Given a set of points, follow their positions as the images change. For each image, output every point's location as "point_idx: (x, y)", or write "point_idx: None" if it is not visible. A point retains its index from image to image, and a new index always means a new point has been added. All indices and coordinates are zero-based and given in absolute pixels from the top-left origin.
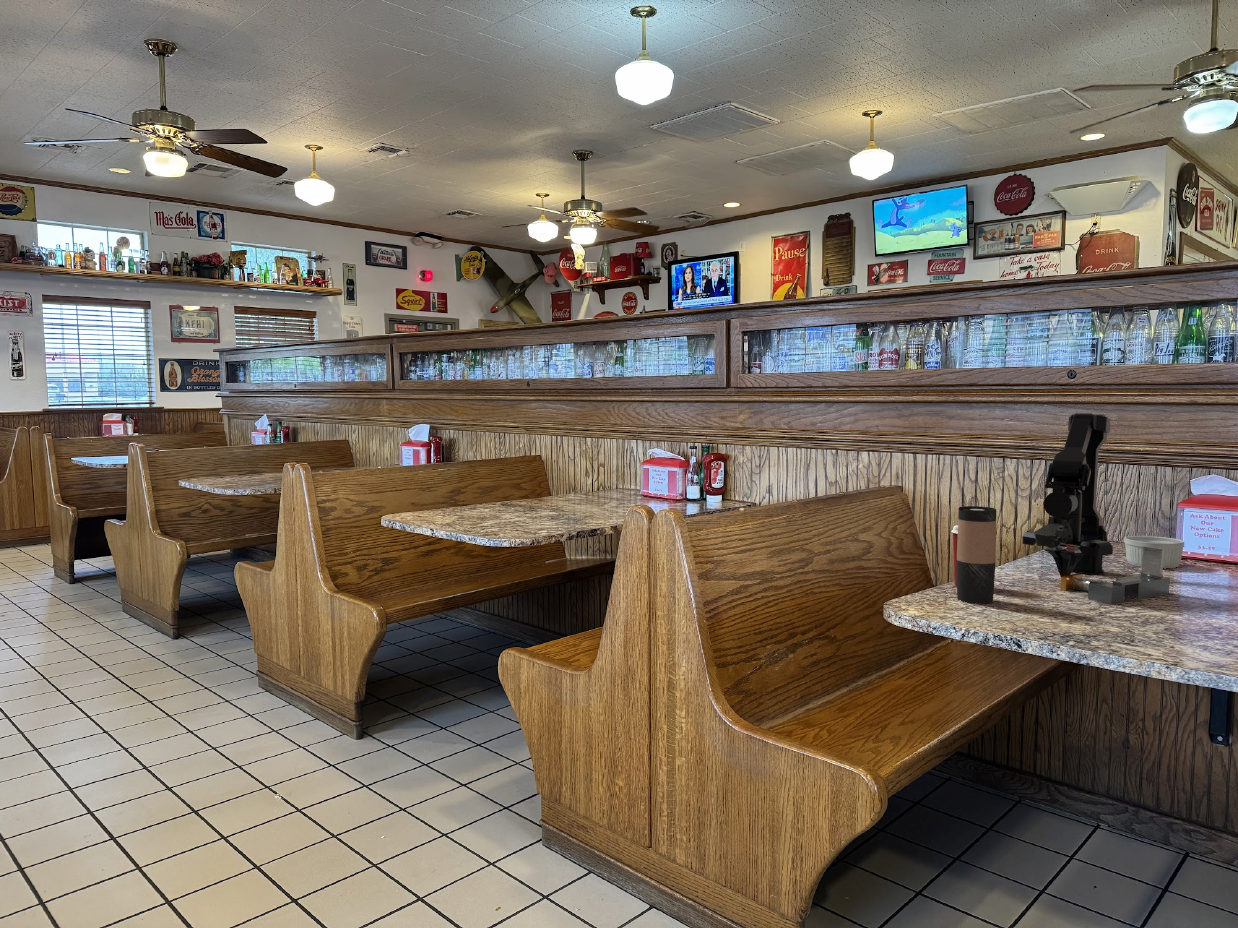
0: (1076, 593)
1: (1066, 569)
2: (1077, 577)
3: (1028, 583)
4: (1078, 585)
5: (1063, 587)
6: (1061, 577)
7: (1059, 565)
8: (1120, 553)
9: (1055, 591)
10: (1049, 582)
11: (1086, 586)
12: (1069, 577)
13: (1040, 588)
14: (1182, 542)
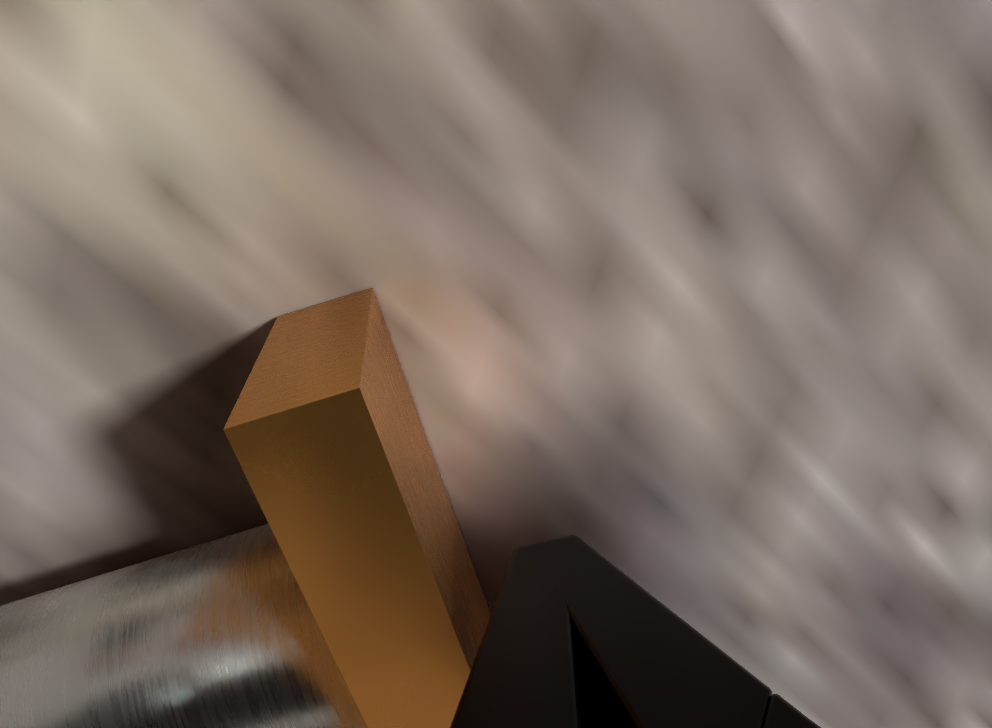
0: (38, 339)
1: (458, 717)
2: (285, 713)
3: (988, 142)
4: (190, 559)
5: (308, 319)
6: (338, 384)
7: (680, 723)
8: None
9: (273, 82)
10: (858, 524)
11: (41, 608)
12: (285, 551)
13: (590, 4)
14: None
